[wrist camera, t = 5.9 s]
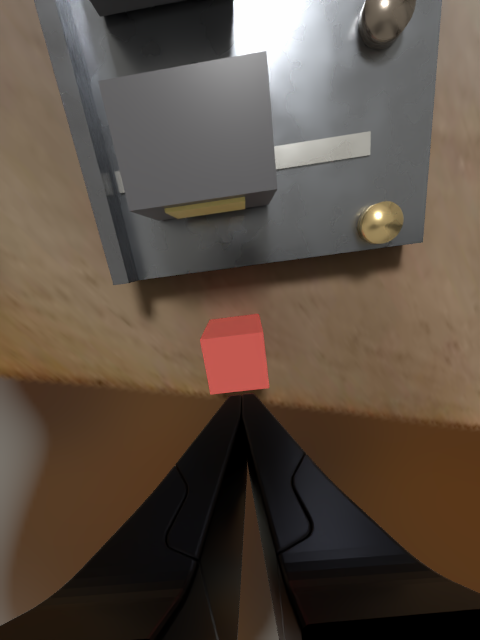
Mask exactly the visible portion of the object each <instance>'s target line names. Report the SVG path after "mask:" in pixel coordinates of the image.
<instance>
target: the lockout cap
mask: <svg viewBox="0 0 480 640" xmlns="http://www.w3.org/2000/svg"><path fill="white" fill-rule="evenodd" d="M200 342H201V347H202V352H203V357H204V363H205V368H206V373H207V378H208V383H209V389H210V394H219V393H228V392H238V391H247V390H256V389H265V388H269V380H268V371H267V362H266V354H265V345H264V336H263V330H262V325H261V321H260V317H259V314H253V315H245V316H237V317H229V318H221V319H213V320H209V322H208V324H207V326H206V329H205V331H204V333H203V335H202V337H201V339H200Z"/></svg>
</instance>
